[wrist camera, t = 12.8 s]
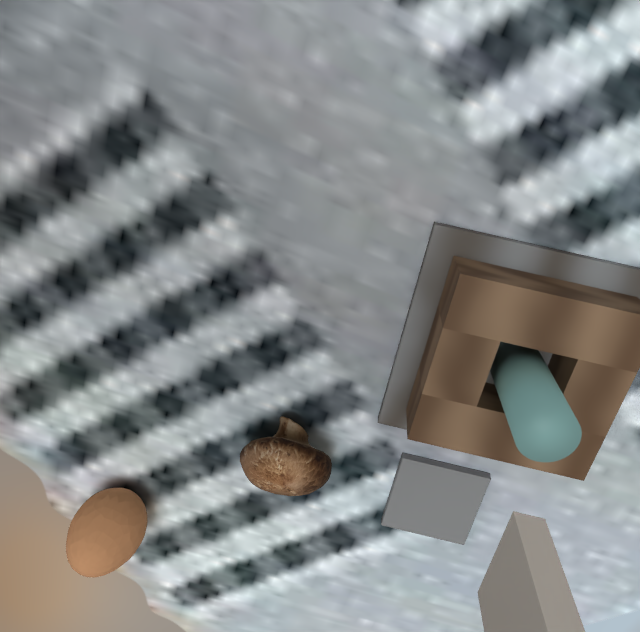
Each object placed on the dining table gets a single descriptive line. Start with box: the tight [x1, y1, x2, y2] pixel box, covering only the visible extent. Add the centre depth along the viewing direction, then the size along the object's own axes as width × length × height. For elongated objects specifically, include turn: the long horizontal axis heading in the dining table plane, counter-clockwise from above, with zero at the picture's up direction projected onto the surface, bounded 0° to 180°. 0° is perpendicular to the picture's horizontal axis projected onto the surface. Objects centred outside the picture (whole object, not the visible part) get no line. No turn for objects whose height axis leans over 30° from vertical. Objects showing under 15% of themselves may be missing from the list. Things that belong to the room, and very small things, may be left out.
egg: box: [66, 488, 147, 577], centre depth 52 cm, size 7×7×9 cm
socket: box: [378, 222, 640, 481], centre depth 43 cm, size 18×18×5 cm
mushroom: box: [240, 416, 332, 496], centre depth 49 cm, size 8×8×6 cm
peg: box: [490, 342, 582, 462], centre depth 40 cm, size 4×4×11 cm
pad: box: [381, 453, 491, 545], centre depth 52 cm, size 8×8×1 cm
